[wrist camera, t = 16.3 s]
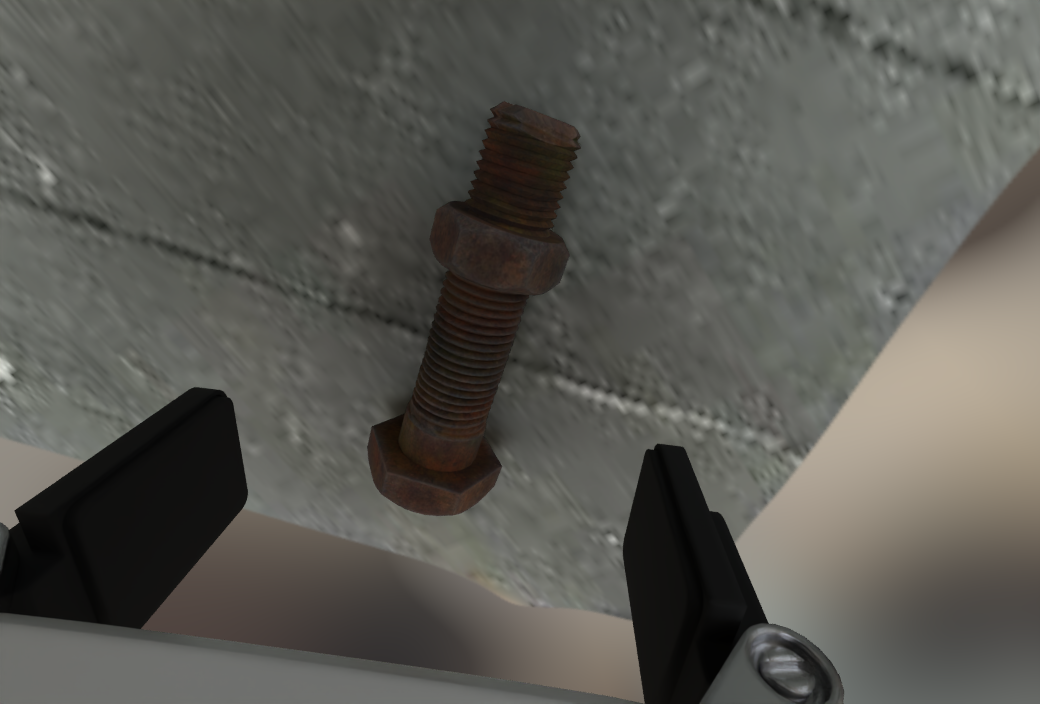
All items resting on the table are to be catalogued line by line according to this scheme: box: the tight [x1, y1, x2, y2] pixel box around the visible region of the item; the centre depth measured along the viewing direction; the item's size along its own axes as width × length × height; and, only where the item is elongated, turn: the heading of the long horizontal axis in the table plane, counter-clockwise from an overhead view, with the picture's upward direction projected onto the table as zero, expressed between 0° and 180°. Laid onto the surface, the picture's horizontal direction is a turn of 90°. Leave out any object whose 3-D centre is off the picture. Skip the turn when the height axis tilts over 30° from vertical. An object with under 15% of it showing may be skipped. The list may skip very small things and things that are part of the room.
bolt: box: [367, 102, 581, 516], centre depth 19 cm, size 6×5×15 cm
